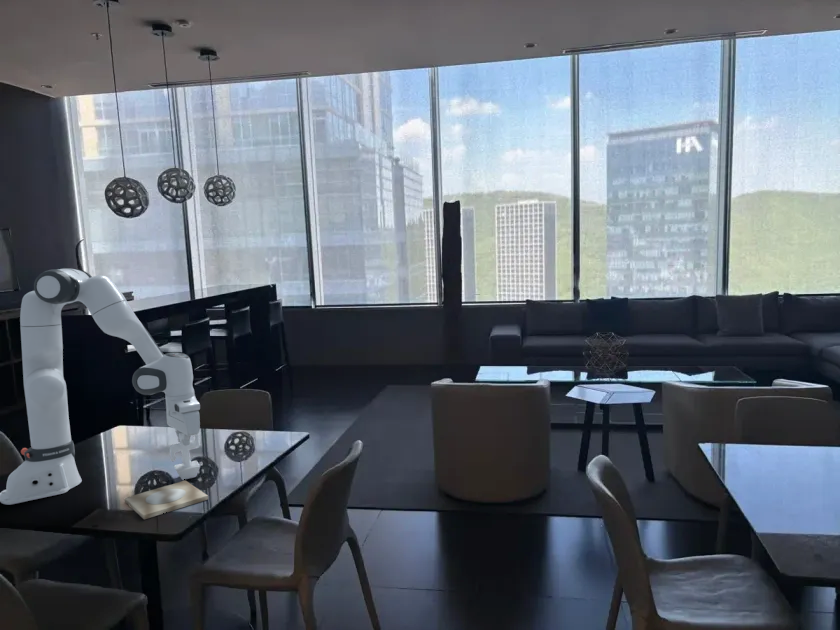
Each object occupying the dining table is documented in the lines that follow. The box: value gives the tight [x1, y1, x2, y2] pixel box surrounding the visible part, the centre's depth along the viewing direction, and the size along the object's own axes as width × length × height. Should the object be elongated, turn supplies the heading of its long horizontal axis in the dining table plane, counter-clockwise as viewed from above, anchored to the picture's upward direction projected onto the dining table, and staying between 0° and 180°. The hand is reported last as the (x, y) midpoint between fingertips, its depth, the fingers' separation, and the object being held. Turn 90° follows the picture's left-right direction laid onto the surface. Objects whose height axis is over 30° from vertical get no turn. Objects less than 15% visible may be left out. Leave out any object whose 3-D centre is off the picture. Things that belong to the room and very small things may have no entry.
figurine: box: [168, 432, 201, 481], centre depth 194 cm, size 7×9×15 cm
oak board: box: [124, 480, 209, 520], centre depth 176 cm, size 18×18×1 cm
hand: (183, 443), depth 194 cm, fingers open, 3 cm apart
